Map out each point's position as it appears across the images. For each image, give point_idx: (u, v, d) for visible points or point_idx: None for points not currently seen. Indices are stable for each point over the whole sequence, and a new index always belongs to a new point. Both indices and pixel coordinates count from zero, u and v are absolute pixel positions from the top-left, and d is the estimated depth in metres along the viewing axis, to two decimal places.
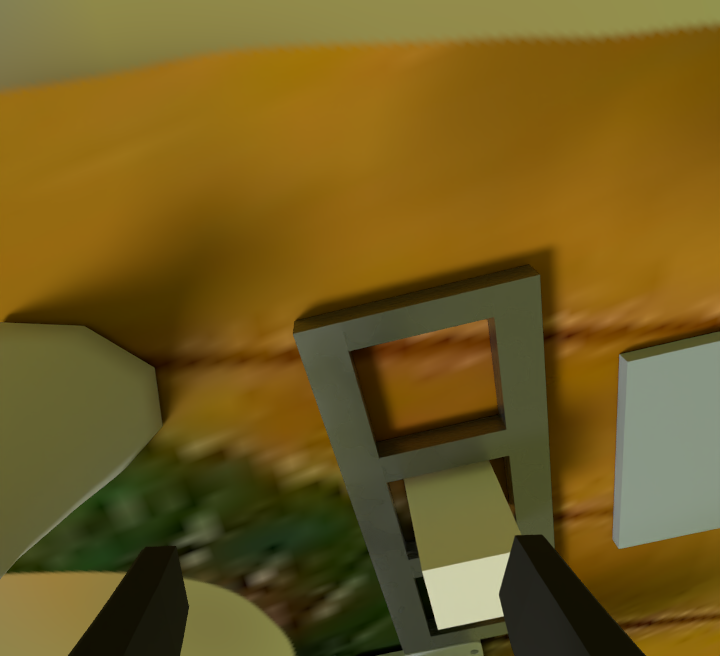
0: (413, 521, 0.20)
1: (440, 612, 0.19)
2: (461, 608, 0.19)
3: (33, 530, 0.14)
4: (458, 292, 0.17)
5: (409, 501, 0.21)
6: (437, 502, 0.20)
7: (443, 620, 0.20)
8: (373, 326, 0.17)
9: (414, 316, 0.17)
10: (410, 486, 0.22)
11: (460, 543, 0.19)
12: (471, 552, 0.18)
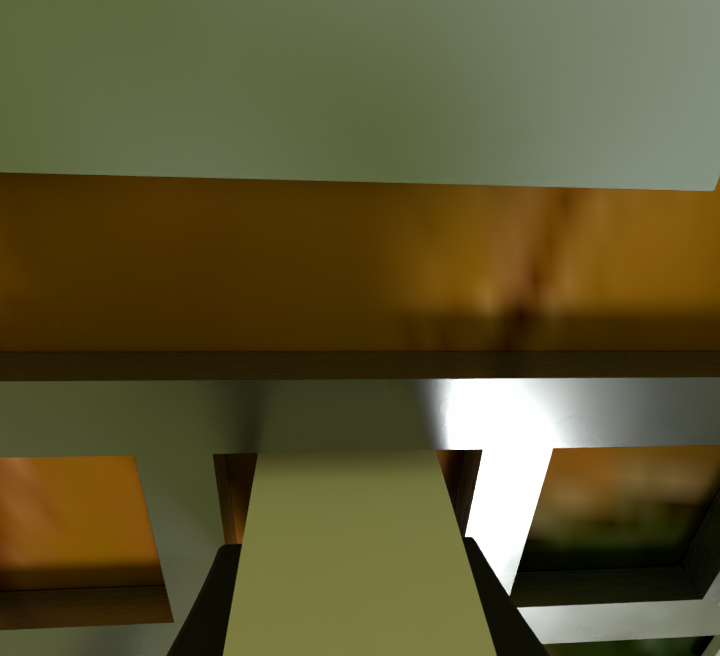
0: None
1: None
2: None
3: None
4: None
5: None
6: None
7: None
8: None
9: None
10: None
11: None
12: None
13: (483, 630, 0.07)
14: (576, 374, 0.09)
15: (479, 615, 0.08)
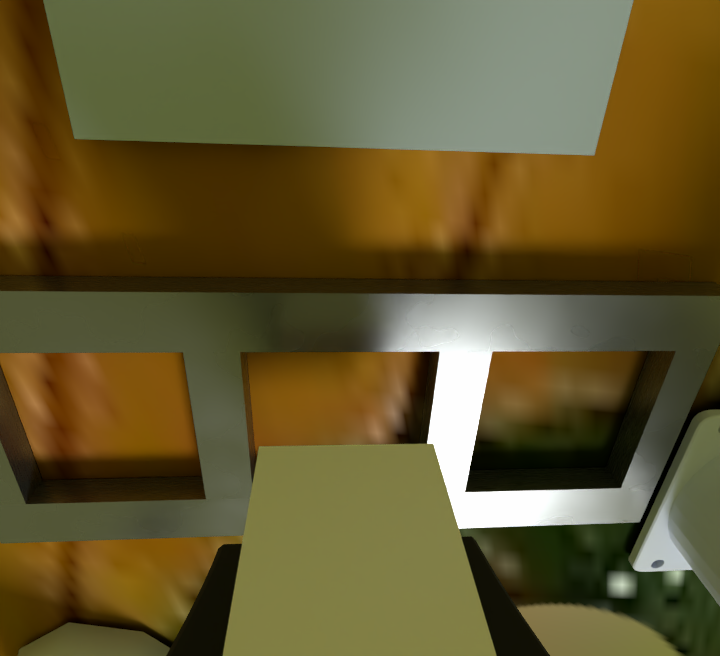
0: None
1: None
2: None
3: None
4: None
5: None
6: None
7: None
8: None
9: None
10: None
11: None
12: None
13: (482, 629, 0.07)
14: (505, 292, 0.13)
15: (478, 614, 0.08)
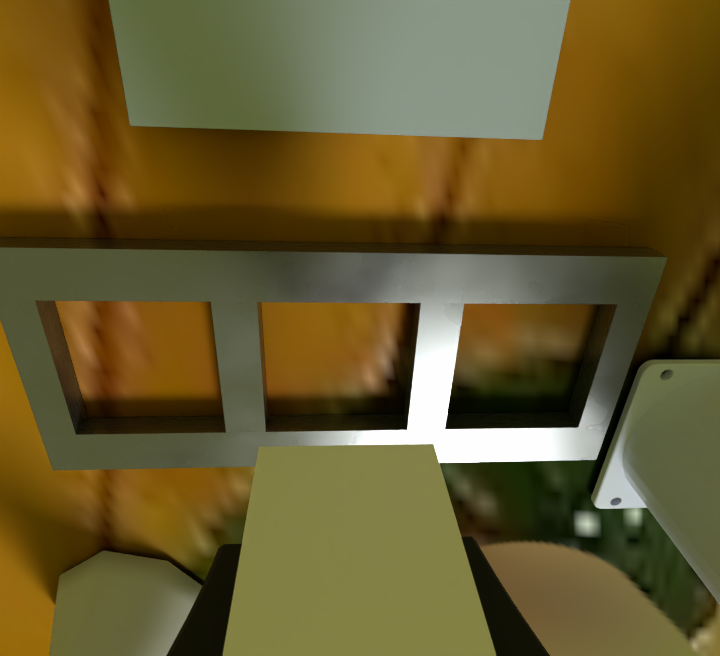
0: None
1: None
2: None
3: None
4: (6, 329, 0.16)
5: None
6: None
7: None
8: (45, 410, 0.17)
9: (33, 375, 0.17)
10: None
11: None
12: None
13: (483, 630, 0.07)
14: (474, 253, 0.16)
15: (479, 614, 0.08)
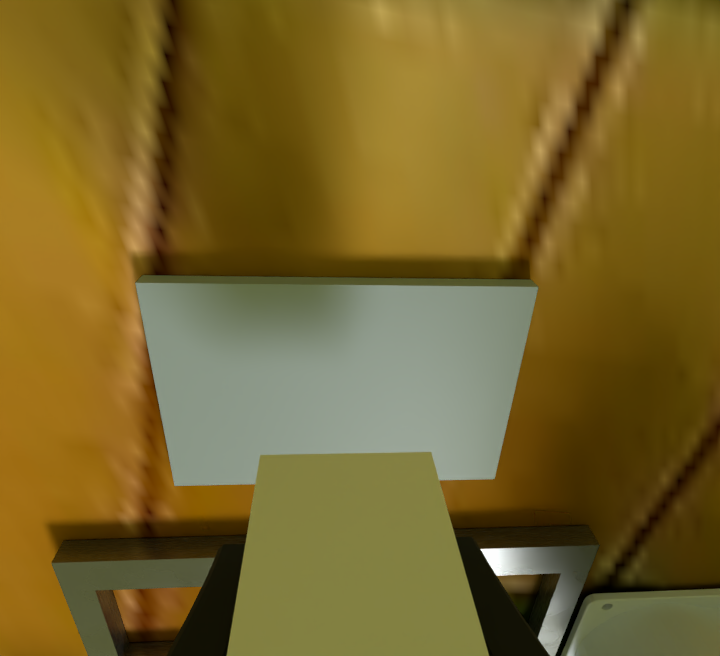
0: None
1: None
2: None
3: None
4: (70, 606, 0.20)
5: None
6: None
7: None
8: (98, 652, 0.21)
9: (90, 632, 0.21)
10: None
11: None
12: None
13: (477, 636, 0.08)
14: None
15: (474, 621, 0.08)
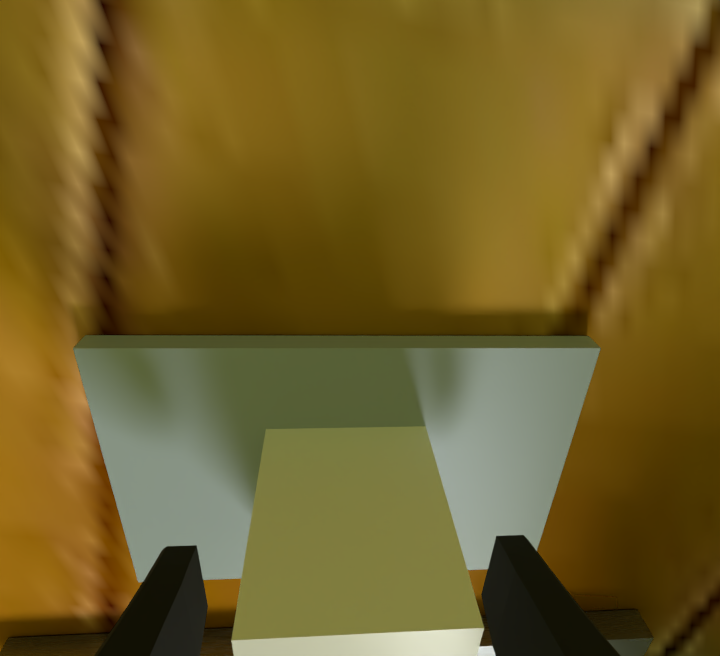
0: None
1: None
2: None
3: None
4: None
5: None
6: None
7: None
8: None
9: None
10: None
11: None
12: None
13: (466, 582, 0.08)
14: None
15: (462, 569, 0.09)
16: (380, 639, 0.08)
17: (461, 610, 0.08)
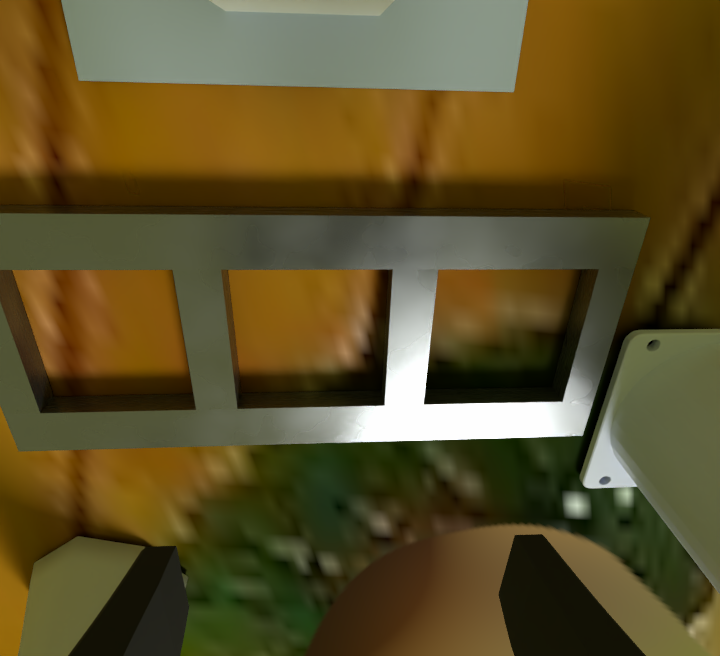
0: None
1: None
2: None
3: None
4: None
5: None
6: None
7: None
8: (7, 387, 0.17)
9: None
10: None
11: None
12: None
13: None
14: (446, 215, 0.15)
15: None
16: None
17: None
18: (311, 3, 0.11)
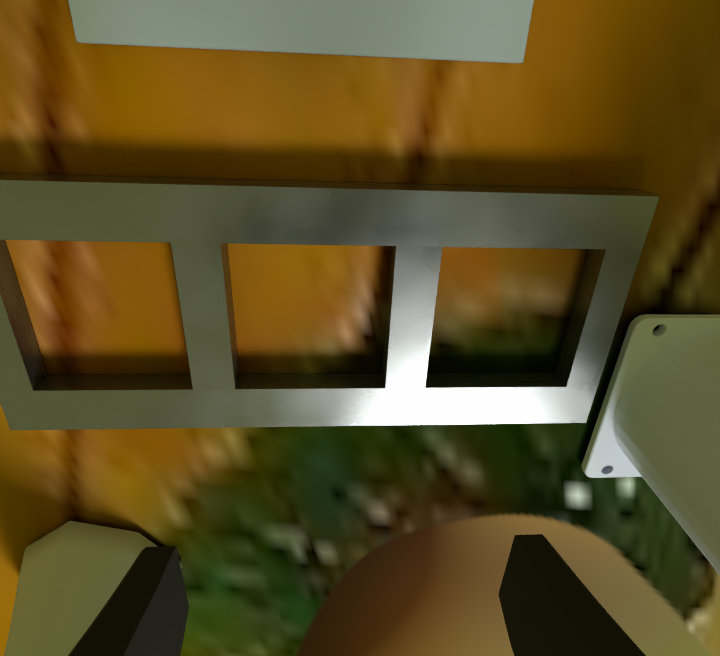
0: None
1: None
2: None
3: None
4: None
5: None
6: None
7: None
8: None
9: None
10: None
11: None
12: None
13: None
14: (452, 190, 0.15)
15: None
16: None
17: None
18: None
